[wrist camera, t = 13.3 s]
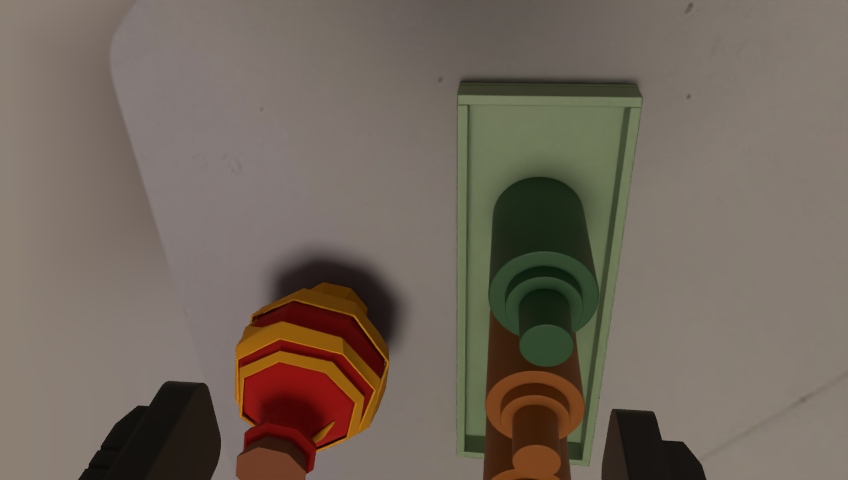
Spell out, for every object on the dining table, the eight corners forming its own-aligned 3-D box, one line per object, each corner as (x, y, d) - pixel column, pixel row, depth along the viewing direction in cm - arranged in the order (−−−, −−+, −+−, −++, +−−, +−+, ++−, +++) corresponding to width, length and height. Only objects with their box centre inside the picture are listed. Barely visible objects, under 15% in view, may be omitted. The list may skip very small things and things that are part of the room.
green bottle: (474, 215, 44) (460, 341, 32) (541, 158, 41) (552, 274, 30) (534, 270, 45) (540, 409, 34) (603, 219, 43) (634, 351, 32)
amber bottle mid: (472, 313, 48) (460, 456, 36) (534, 267, 45) (541, 405, 34) (527, 361, 49) (532, 512, 38) (590, 319, 47) (614, 468, 36)
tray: (460, 81, 40) (457, 94, 38) (636, 84, 39) (643, 97, 37) (458, 433, 55) (456, 456, 52) (586, 442, 53) (589, 466, 51)
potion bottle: (290, 370, 53) (218, 537, 40) (247, 261, 48) (150, 411, 35) (418, 360, 51) (386, 532, 38) (387, 244, 46) (338, 397, 33)
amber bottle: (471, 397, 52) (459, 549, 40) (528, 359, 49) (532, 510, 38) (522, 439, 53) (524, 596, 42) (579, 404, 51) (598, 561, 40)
